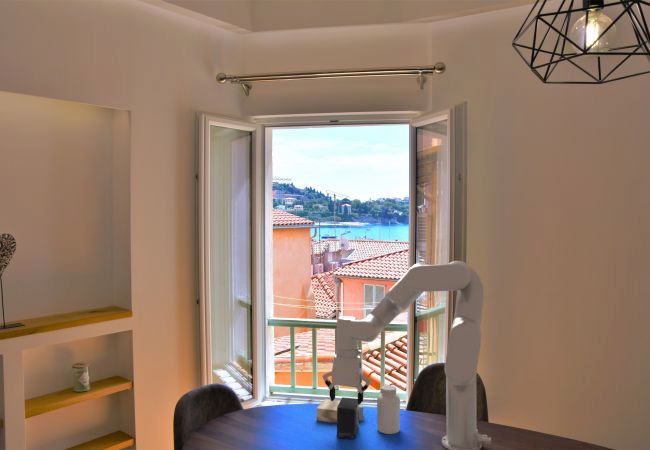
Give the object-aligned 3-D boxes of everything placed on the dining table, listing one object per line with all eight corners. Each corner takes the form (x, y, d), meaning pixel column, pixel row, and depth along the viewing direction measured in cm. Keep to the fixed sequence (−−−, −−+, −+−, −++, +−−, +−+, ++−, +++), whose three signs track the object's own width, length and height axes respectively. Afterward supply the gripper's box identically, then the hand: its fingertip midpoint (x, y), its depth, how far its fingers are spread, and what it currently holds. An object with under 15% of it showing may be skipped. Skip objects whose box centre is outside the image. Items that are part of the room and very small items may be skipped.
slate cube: (363, 415, 194) (362, 402, 194) (363, 420, 189) (363, 407, 189) (349, 415, 194) (349, 402, 194) (349, 420, 189) (349, 407, 189)
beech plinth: (349, 413, 196) (349, 401, 196) (342, 423, 186) (342, 411, 186) (324, 410, 199) (324, 399, 199) (316, 420, 189) (316, 408, 189)
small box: (355, 439, 172) (355, 408, 172) (336, 438, 174) (336, 407, 174) (359, 427, 183) (359, 397, 183) (341, 425, 184) (341, 396, 184)
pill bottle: (397, 436, 175) (397, 392, 175) (374, 433, 177) (374, 389, 177) (402, 427, 182) (401, 385, 182) (379, 424, 185) (379, 382, 185)
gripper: (373, 352, 179) (372, 401, 179) (326, 347, 184) (325, 395, 184) (369, 357, 172) (368, 408, 172) (320, 352, 177) (319, 402, 177)
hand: (346, 401), depth 178 cm, fingers open, 9 cm apart
